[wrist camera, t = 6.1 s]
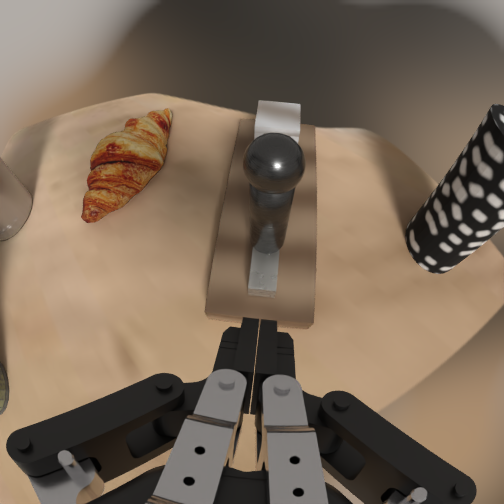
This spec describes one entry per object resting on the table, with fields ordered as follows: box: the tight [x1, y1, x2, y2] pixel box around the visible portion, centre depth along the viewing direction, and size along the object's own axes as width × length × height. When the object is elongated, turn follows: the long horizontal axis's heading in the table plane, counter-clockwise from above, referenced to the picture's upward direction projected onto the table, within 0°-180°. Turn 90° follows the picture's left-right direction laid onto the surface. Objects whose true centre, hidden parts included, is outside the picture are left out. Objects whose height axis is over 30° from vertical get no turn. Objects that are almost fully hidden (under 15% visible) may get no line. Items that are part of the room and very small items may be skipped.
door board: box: [205, 101, 317, 329], centre depth 32 cm, size 26×10×8 cm, turn 174°
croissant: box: [81, 108, 172, 223], centre depth 36 cm, size 21×10×8 cm, turn 161°
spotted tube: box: [406, 104, 504, 274], centre depth 25 cm, size 8×8×20 cm
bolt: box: [243, 133, 306, 298], centre depth 24 cm, size 12×4×14 cm, turn 174°
